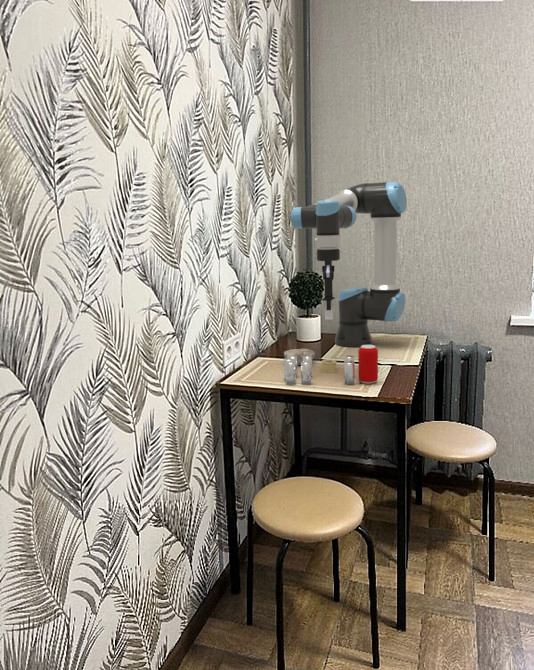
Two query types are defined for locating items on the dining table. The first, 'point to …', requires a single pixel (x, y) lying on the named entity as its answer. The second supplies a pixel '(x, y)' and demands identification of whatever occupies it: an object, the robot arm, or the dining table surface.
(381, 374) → the dining table surface
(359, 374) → the beverage can
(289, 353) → the rock
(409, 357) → the dining table surface
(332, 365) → the nut
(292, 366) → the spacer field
